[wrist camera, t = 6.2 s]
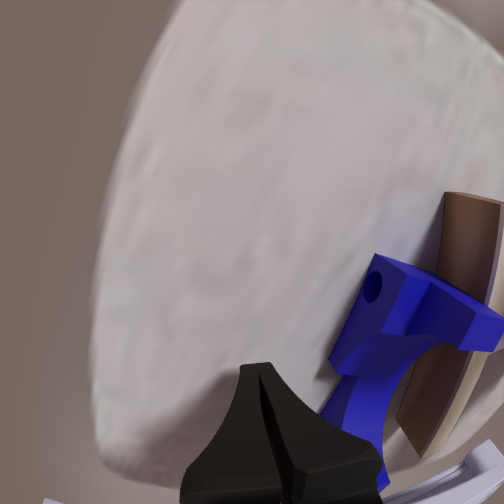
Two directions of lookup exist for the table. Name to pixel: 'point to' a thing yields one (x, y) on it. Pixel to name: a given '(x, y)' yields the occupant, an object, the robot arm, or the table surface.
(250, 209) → the table surface
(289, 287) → the table surface
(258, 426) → the robot arm
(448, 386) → the bar
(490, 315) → the cable clip
